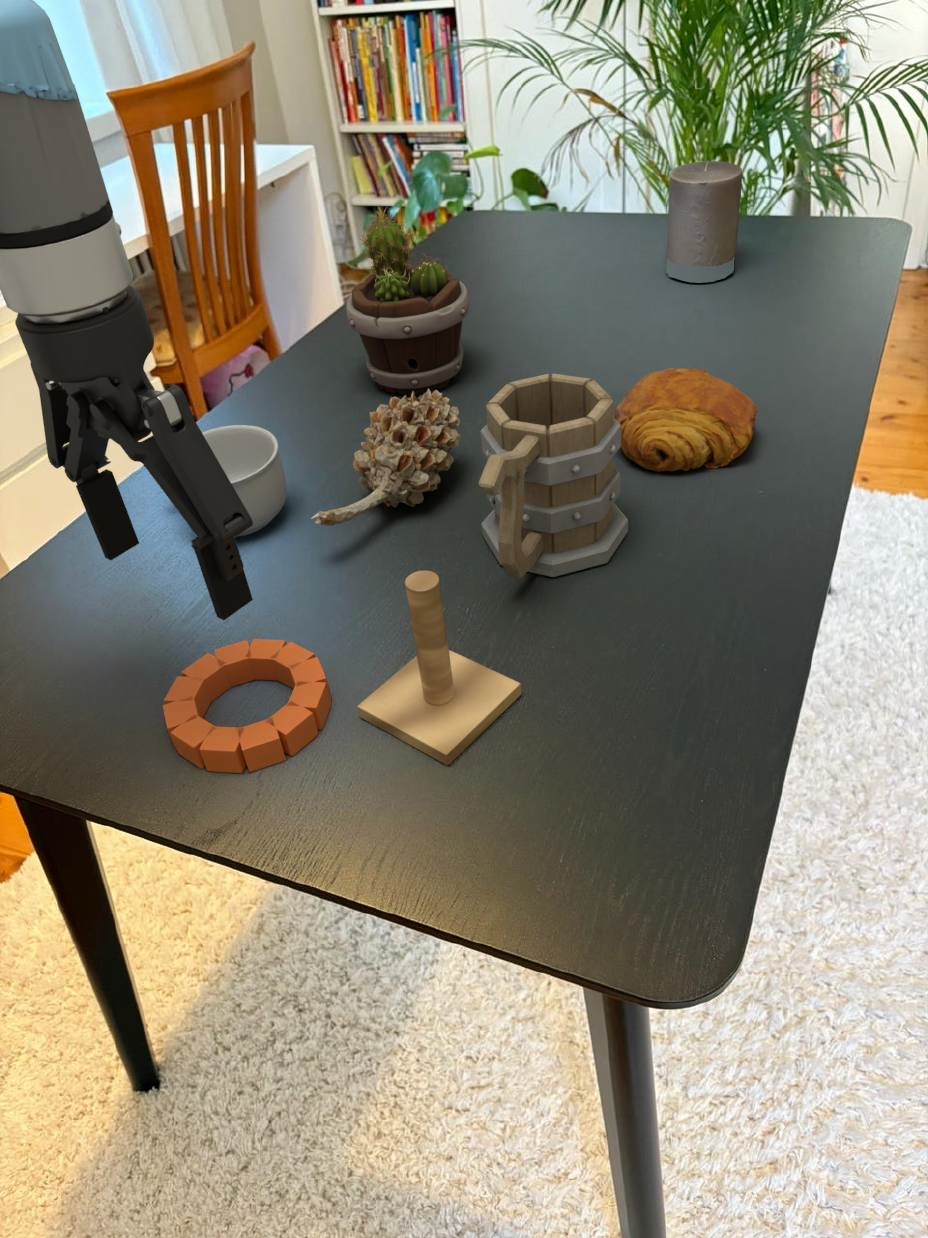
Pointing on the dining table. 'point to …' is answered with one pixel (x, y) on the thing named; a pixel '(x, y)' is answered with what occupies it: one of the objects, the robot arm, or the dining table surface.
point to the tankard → (551, 476)
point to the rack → (437, 685)
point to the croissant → (684, 421)
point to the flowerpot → (407, 315)
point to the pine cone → (402, 453)
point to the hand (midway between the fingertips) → (176, 578)
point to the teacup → (251, 469)
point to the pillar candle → (703, 213)
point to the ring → (259, 739)
